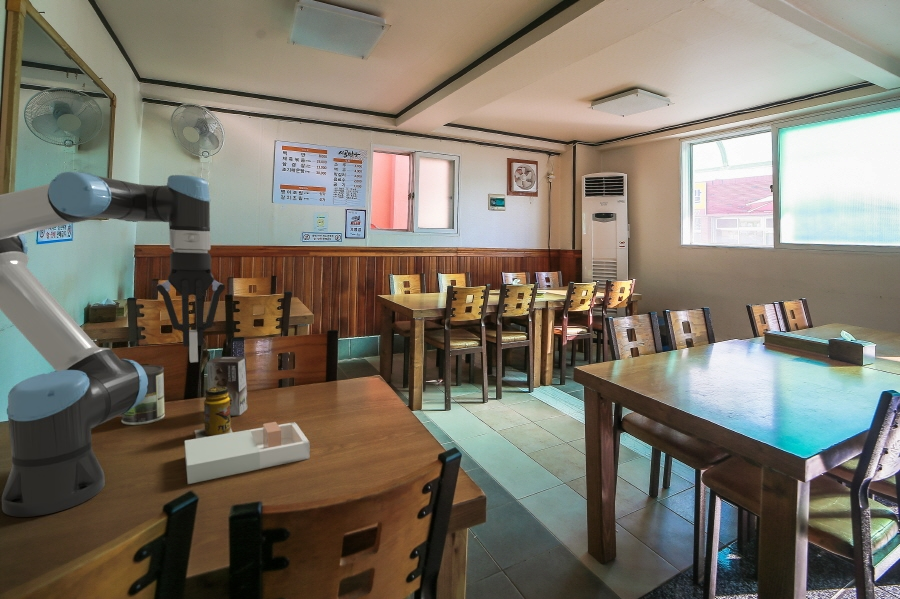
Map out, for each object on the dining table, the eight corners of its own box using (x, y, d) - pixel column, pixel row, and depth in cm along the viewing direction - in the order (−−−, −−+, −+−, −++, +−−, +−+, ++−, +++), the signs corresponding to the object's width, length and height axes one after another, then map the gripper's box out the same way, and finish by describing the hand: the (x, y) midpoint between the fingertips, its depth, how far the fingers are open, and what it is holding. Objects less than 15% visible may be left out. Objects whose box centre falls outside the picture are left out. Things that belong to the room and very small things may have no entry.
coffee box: (248, 408, 139) (247, 356, 137) (239, 416, 133) (238, 361, 131) (217, 408, 139) (216, 355, 137) (207, 415, 132) (206, 361, 130)
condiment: (233, 435, 120) (233, 390, 118) (197, 441, 115) (195, 395, 114) (229, 425, 126) (228, 383, 124) (194, 431, 121) (193, 387, 120)
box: (259, 468, 102) (259, 451, 102) (250, 445, 114) (249, 429, 114) (309, 458, 108) (309, 442, 108) (295, 436, 120) (295, 422, 119)
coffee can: (140, 427, 122) (138, 376, 121) (112, 422, 125) (109, 371, 124) (174, 414, 132) (172, 367, 131) (147, 409, 135) (145, 363, 134)
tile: (267, 432, 106) (281, 430, 108) (263, 423, 111) (276, 421, 113) (267, 457, 107) (281, 454, 108) (263, 447, 112) (276, 445, 113)
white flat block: (187, 484, 95) (187, 465, 94) (185, 457, 107) (184, 440, 106) (259, 468, 102) (259, 451, 102) (250, 445, 114) (249, 429, 114)
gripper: (153, 251, 90) (157, 368, 93) (226, 252, 97) (228, 361, 99) (154, 250, 96) (158, 359, 99) (223, 251, 103) (225, 354, 106)
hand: (193, 360), depth 99 cm, fingers closed
